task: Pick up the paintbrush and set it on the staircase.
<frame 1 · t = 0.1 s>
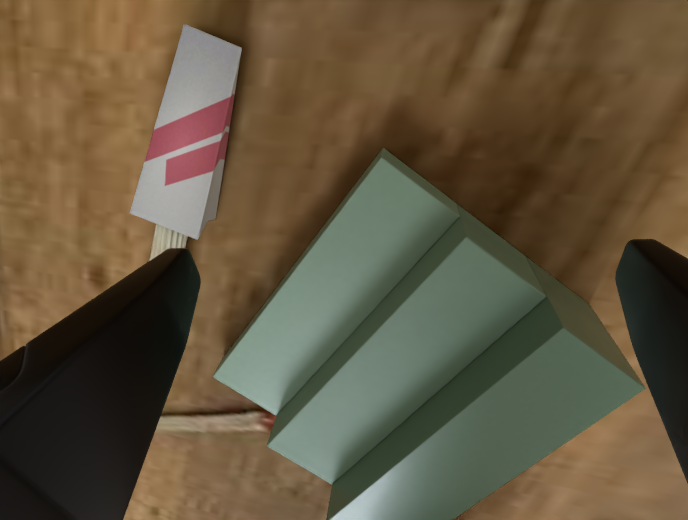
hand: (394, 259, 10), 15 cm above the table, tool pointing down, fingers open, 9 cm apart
staircase: (390, 333, 29), on the table
paintbrush: (185, 210, 27), on the table
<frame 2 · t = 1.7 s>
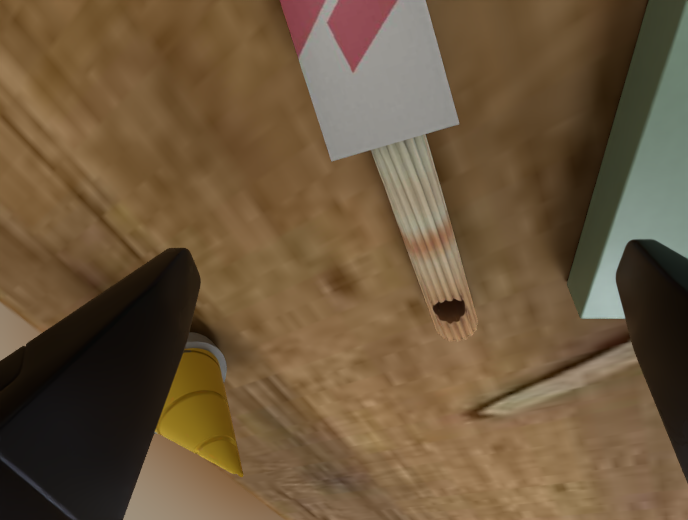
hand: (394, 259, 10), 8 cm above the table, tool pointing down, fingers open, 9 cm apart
drill bit: (204, 338, 25), on the table
paintbrush: (394, 109, 16), on the table
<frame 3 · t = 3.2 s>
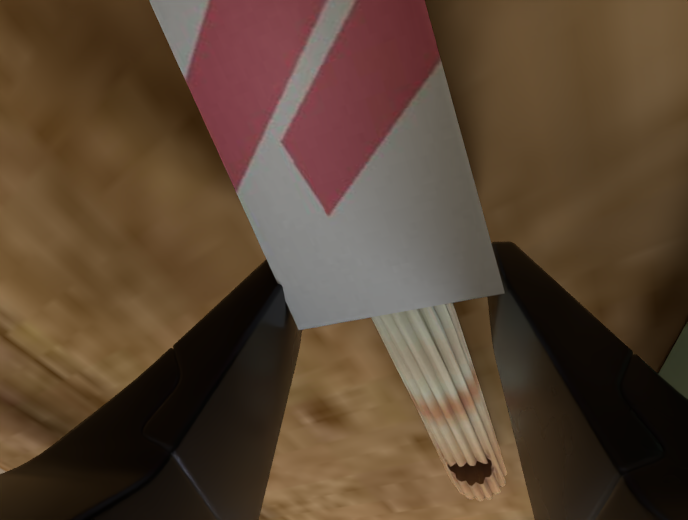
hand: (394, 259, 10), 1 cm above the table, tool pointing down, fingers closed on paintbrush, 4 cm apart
paintbrush: (396, 225, 11), on the table, touching gripper
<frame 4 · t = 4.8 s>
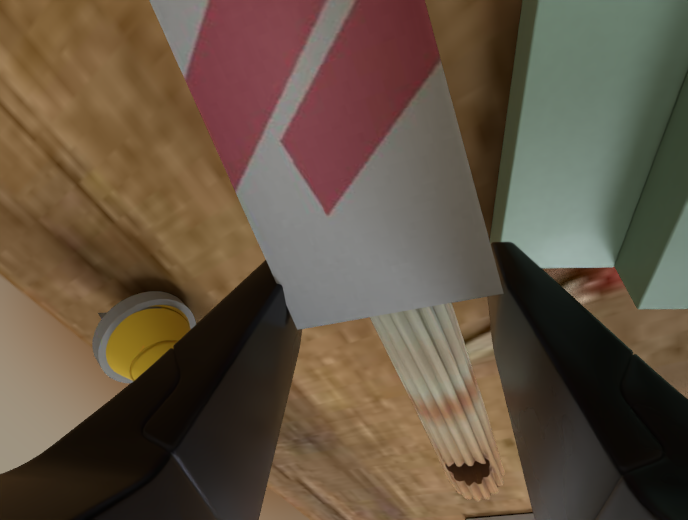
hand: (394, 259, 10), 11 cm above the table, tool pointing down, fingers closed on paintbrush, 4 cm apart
drill bit: (175, 299, 27), on the table
paintbrush: (395, 225, 11), point 9 cm above the table, touching gripper
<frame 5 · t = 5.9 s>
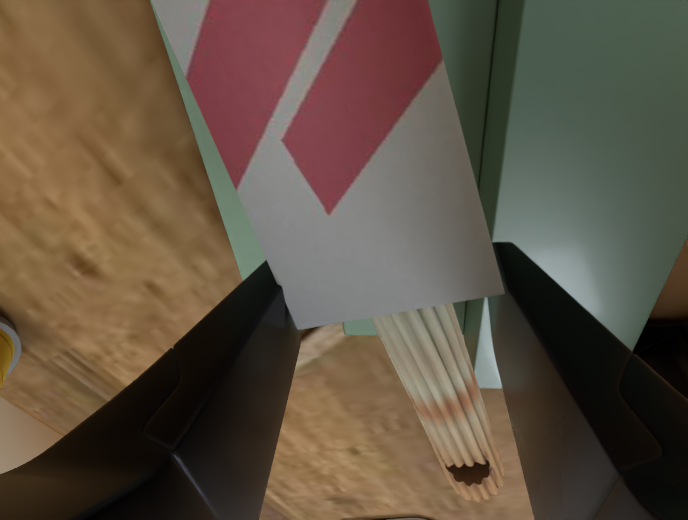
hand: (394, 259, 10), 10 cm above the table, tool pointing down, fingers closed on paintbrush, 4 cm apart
staircase: (398, 82, 17), on the table
drill bit: (1, 316, 29), on the table
paintbrush: (396, 225, 11), point 9 cm above the table, touching gripper
when the fingers open (8 cm above the table, at t = 6.7 s): paintbrush drops 1 cm, resting on staircase.
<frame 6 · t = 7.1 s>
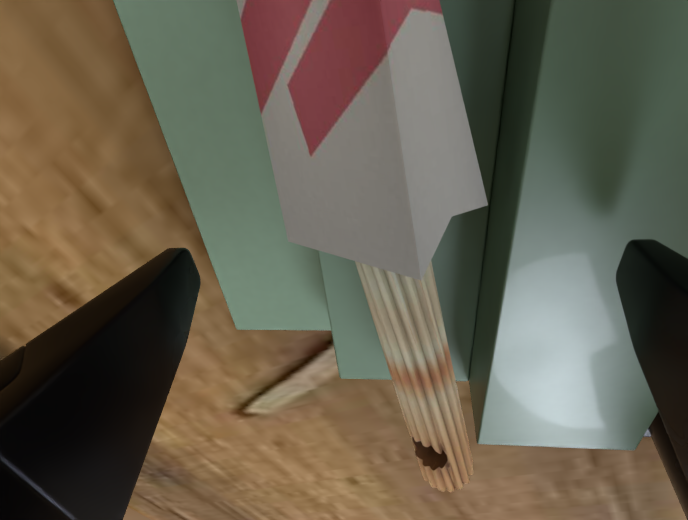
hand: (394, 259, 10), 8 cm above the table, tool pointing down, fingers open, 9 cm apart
staircase: (398, 109, 16), on the table
paintbrush: (422, 201, 11), point 5 cm above the table, touching staircase
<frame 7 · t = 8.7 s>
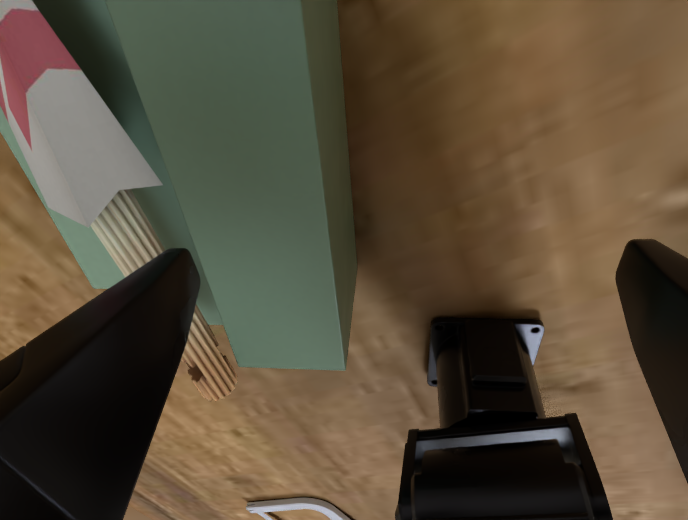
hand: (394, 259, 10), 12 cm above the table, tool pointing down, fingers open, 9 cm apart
staircase: (182, 118, 21), on the table
paintbrush: (147, 183, 17), point 5 cm above the table, touching staircase
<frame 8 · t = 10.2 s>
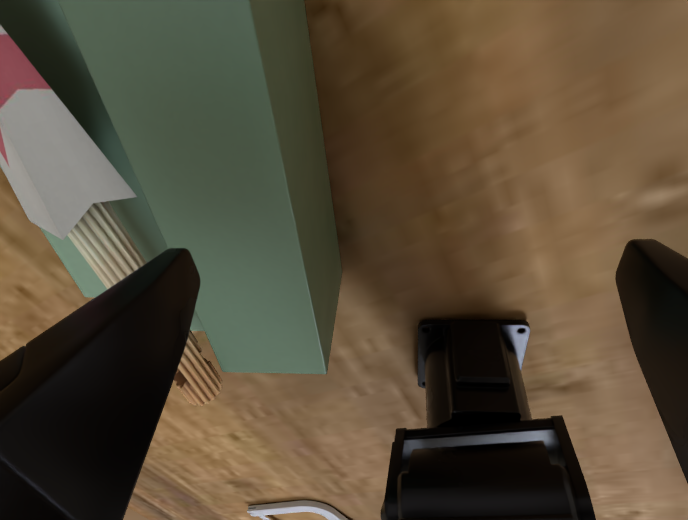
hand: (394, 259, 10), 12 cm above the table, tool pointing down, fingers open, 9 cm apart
staircase: (164, 130, 22), on the table
paintbrush: (124, 195, 17), point 5 cm above the table, touching staircase
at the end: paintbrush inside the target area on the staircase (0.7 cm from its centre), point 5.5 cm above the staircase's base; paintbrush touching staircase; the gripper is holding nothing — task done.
